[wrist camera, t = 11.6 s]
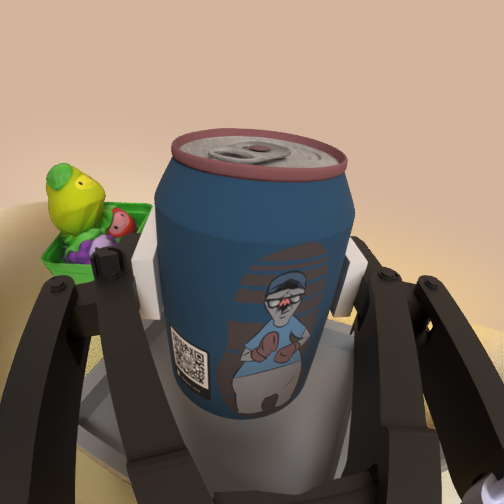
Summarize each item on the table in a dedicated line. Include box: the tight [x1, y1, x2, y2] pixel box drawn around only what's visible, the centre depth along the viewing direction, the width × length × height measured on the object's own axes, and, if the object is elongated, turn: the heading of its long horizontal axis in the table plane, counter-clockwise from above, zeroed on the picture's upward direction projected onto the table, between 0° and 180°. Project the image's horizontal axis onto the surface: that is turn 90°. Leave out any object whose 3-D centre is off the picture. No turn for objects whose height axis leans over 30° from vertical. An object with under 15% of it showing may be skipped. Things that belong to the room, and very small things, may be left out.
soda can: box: [154, 128, 355, 420], centre depth 13 cm, size 7×7×12 cm
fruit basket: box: [41, 163, 153, 285], centre depth 26 cm, size 11×9×11 cm
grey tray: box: [76, 306, 354, 499], centre depth 18 cm, size 16×16×2 cm
